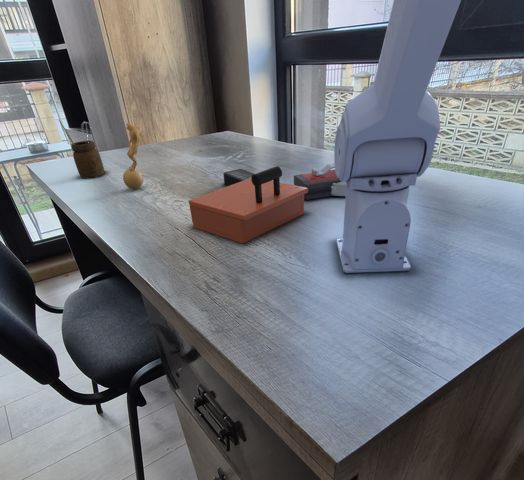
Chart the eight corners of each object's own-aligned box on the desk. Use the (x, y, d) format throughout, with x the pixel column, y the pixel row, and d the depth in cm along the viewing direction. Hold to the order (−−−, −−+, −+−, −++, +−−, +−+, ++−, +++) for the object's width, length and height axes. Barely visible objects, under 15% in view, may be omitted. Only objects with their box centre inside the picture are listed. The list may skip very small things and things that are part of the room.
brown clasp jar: (107, 175, 92) (89, 117, 84) (79, 180, 90) (59, 121, 83) (103, 170, 96) (87, 114, 89) (77, 174, 94) (58, 118, 87)
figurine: (123, 185, 84) (105, 122, 76) (150, 180, 86) (136, 118, 78) (129, 195, 78) (110, 128, 70) (158, 190, 80) (143, 123, 72)
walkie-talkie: (302, 205, 67) (406, 189, 70) (302, 178, 64) (410, 162, 67) (286, 191, 73) (382, 176, 77) (286, 166, 70) (385, 152, 74)
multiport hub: (242, 179, 82) (241, 168, 80) (270, 191, 74) (269, 178, 73) (223, 184, 80) (222, 172, 78) (250, 196, 72) (249, 183, 71)
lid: (308, 192, 61) (308, 160, 58) (244, 220, 53) (240, 185, 50) (252, 181, 68) (250, 152, 65) (189, 205, 60) (183, 173, 57)
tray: (304, 213, 64) (304, 191, 61) (242, 243, 56) (240, 220, 54) (254, 201, 70) (252, 181, 68) (193, 227, 62) (189, 205, 60)
